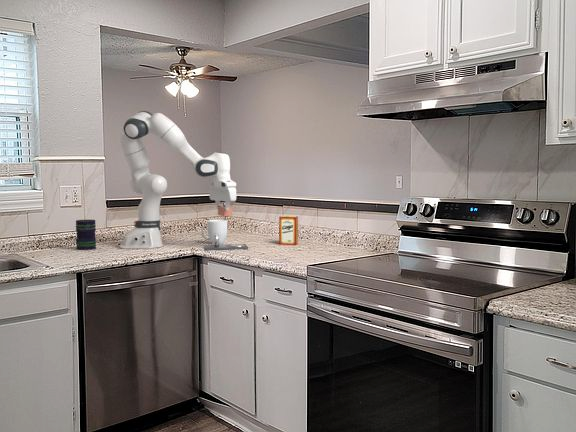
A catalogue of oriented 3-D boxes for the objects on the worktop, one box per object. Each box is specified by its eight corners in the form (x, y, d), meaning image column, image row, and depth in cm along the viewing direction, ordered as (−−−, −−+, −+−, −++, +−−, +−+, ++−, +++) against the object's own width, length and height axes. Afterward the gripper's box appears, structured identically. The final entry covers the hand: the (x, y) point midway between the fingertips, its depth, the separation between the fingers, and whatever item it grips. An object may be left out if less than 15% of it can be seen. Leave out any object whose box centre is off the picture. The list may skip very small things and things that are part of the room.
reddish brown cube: (217, 214, 298) (218, 204, 297) (225, 213, 302) (225, 203, 301) (224, 216, 294) (224, 206, 293) (231, 215, 298) (232, 205, 297)
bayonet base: (205, 250, 291) (205, 236, 290) (204, 247, 303) (204, 233, 302) (248, 249, 295) (248, 235, 295) (245, 246, 307) (245, 233, 307)
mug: (198, 244, 313) (198, 221, 311) (204, 242, 323) (204, 219, 322) (224, 245, 310) (224, 221, 309) (229, 242, 321) (229, 219, 320)
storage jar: (89, 250, 289) (89, 221, 288) (72, 249, 291) (71, 221, 290) (99, 247, 299) (99, 219, 298) (83, 247, 301) (82, 219, 300)
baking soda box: (298, 243, 318) (298, 215, 317) (296, 245, 312) (296, 216, 311) (281, 243, 320) (281, 215, 319) (279, 244, 314) (279, 216, 312)
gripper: (206, 182, 301) (207, 208, 302) (228, 183, 285) (228, 211, 287) (216, 182, 305) (216, 207, 306) (238, 183, 289) (238, 210, 291)
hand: (222, 209), depth 296 cm, fingers closed on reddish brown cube, 5 cm apart
